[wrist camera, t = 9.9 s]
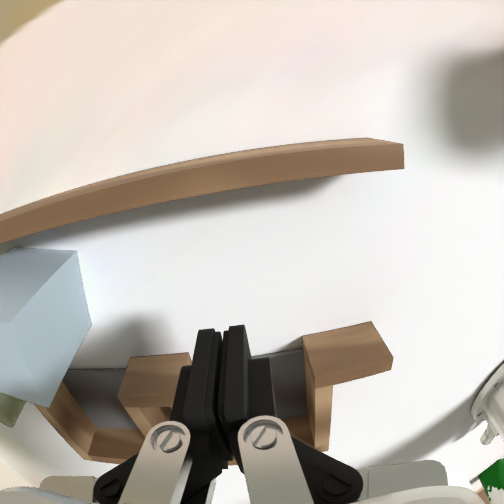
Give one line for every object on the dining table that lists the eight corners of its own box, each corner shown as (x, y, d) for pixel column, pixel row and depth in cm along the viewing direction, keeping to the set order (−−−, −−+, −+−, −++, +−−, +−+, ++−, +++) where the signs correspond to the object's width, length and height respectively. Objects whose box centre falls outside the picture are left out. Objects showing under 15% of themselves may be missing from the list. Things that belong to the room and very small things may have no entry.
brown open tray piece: (360, 405, 22) (382, 464, 16) (72, 427, 22) (56, 476, 16) (370, 127, 13) (445, 137, 8) (-40, 223, 13) (-96, 260, 8)
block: (91, 324, 17) (48, 407, 11) (31, 315, 16) (-19, 384, 10) (77, 250, 15) (9, 323, 9) (13, 247, 15) (-57, 306, 8)
